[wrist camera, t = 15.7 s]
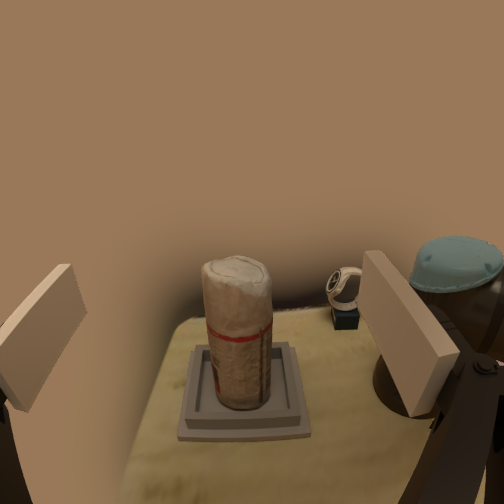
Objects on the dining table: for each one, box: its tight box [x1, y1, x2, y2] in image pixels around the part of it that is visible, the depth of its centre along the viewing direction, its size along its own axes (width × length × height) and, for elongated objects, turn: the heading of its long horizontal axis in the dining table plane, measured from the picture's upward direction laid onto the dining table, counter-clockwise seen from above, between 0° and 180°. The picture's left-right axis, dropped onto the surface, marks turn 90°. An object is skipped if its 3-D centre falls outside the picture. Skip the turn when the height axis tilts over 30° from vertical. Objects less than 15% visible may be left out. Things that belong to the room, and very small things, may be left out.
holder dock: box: [177, 342, 311, 442], centre depth 42 cm, size 17×17×4 cm
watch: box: [326, 267, 362, 330], centre depth 55 cm, size 6×8×11 cm
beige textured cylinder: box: [201, 255, 273, 410], centre depth 38 cm, size 8×8×20 cm
